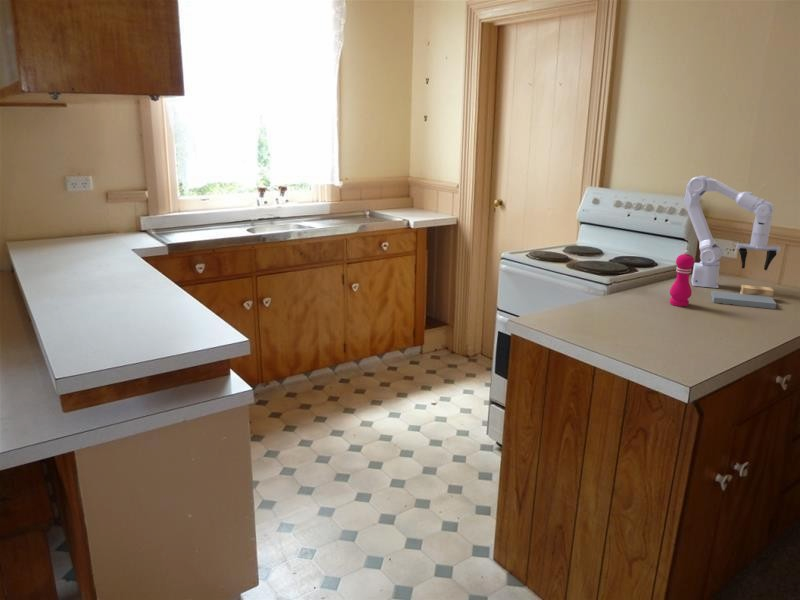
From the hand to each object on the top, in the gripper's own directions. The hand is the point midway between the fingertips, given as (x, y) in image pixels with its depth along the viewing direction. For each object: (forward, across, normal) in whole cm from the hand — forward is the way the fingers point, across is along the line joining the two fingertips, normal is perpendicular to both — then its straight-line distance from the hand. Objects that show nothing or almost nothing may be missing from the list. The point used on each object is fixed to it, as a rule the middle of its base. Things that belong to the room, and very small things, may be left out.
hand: (754, 268), depth 242 cm
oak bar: (+10, +1, -9) cm, 13 cm away
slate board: (+9, -5, -17) cm, 20 cm away
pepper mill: (+10, -27, -29) cm, 41 cm away
